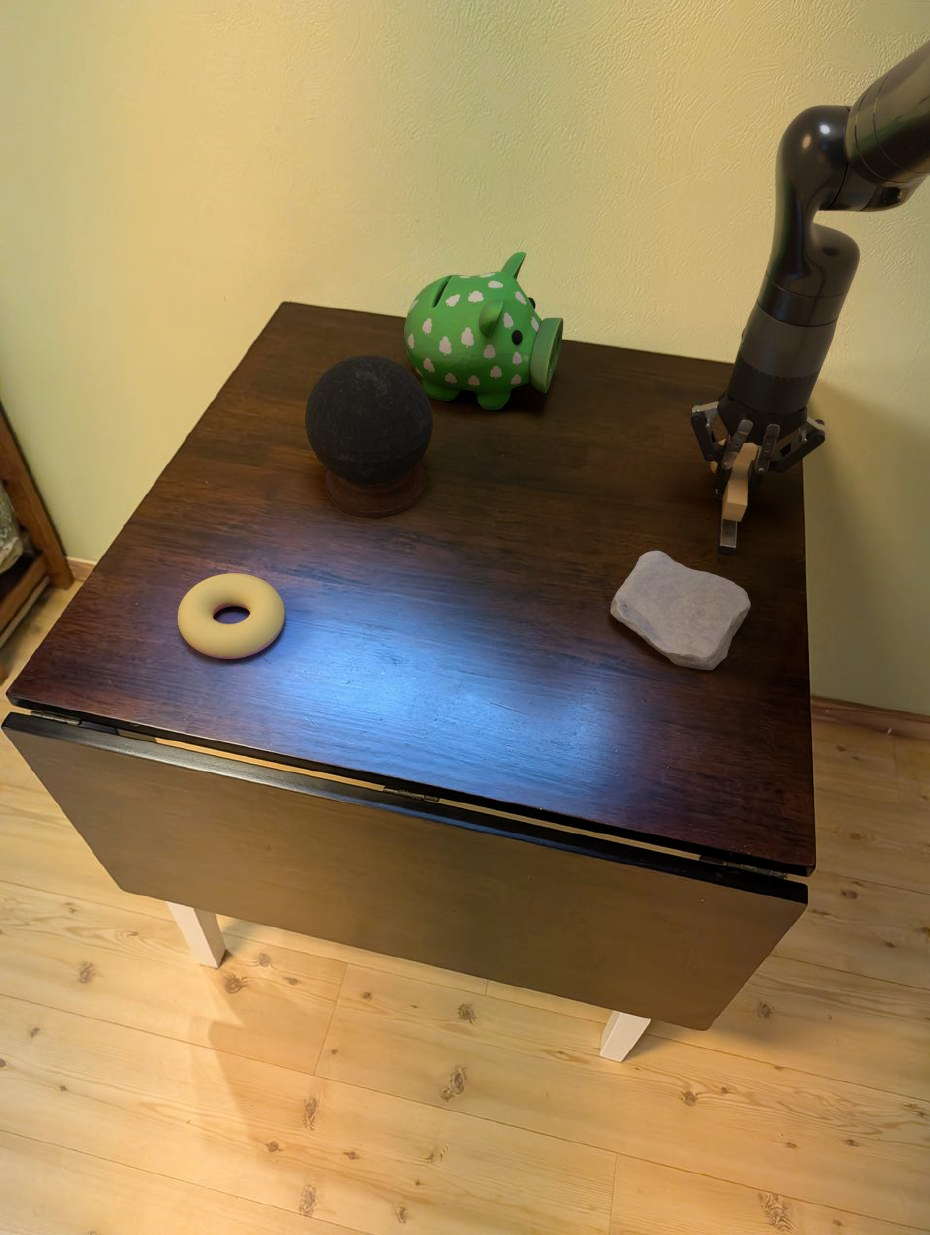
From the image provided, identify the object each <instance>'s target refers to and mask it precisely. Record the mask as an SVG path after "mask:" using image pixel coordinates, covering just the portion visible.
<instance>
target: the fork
mask: <svg viewBox="0 0 930 1235" xmlns="http://www.w3.org/2000/svg"><path fill="white" fill-rule="evenodd" d="M713 490H714V491H713V501H717V502H720V509H719V523H718V524H719V526H718V540H717V553H718V554H723V555H729V556H734V554H735V551H736V549H737V530H738V521H733V520H727V519H722V505H723V495H719V494H717V489H714V488H713Z"/></svg>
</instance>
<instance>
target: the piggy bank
mask: <svg viewBox="0 0 930 1235" xmlns="http://www.w3.org/2000/svg"><path fill="white" fill-rule="evenodd" d="M526 256H527V252H525V251H518V252H515V253H512V254H511V256H510V257H509V258H508V259H507V261H506V262H504V264H503V266H502V268H501V270H500V271H499V270H498V271H492V272H485V273H481V274H476V275H462V274H449V275H446V276H443V277H440V278H438V279H436V280H434V281H432V282H430V283H429V284H427V285H426V286H425V287H424V288H422V290H421V291H420V292H419V293H418V294H417V295H416V296H415V298H414V300H413V301H412V303H411V304H410V307H409V309H408V312H407V315H406V319H405V323H404V329H403V330H404V332H403V334H404V335H403V336H404V346H405V351H406V354H407V356H408V359H409V361H410V364H411V365H412V368H413V369H414V371H415V372H416V374H418V376H419V378H420V380H421V383H422V387H423V388H424V389H425V392H426V394H427V397H428V398H431V399H434V400H436V401H442V402H450V401H453V400H455V398H457V397H458V396H459V394H461V391H463V390H464V391H468V392H473V393H475V395H476V401H477V403H478V404H479V406H480V408H482V409H484V410H487V411H488V410H490V411H497V410H500V409H502V408H503V407H504V406H505V405H506V404H507V403H508V402H509V400H510V397H511V394H512V390H513V389H515V388H517V387H521V386H525V385H527V384H530V385H531V387H533V388H534V389H535V390H537V391H539V392H540V393H542V394H547V392H548V391H549V389H550V386H551V383H552V380H553V376H554V374H555V372H556V368H557V366H558V361H559V357H560V353H561V350H562V349H561V348H562V343H563V333H564V318H563V317H544V318H543V319H542V318H541V317H540V316H539V315H538V313H537V312H536V301H535V299H534V298H533V297H529V296H527V294H526V293H525V291H524V289H523V288H522V286H521V285H520V284H519V282H518V277H519V273H520V272H521V268H522V266H523V264H524V261H525V258H526Z"/></svg>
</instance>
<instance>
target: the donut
mask: <svg viewBox="0 0 930 1235" xmlns="http://www.w3.org/2000/svg"><path fill="white" fill-rule="evenodd" d="M230 607H239V608H243V609H245V610H247V611H248V612H249V615H248V617H246V618H245V619H244V620H241V621H239V622H236V623H222V622H220V621H218V620H216V619H215V618H214V616H215V614H216V613H217V612H219V611H220V610H223V609H226V608H230ZM285 617H286V610H285V604H284V602H283V599H282V596H281V595H280V594H279V592H278V591H277V590H276V589H275V587H274V586H272V585H271V584H270V583H269V582H267V581H265V580H264V579H262V578H260V577H257V576H256V575H255V576H254V575H251V574H248V573H247V574H246V573H238V572H233V573H232V572H230V573H220V574H216V575H213V576H211V577H208V578H206V579H203V580H202V581H200V582H198V583H197V584H195V585H194V586H193V587H192V588H190V589H189V591H188V592H186V594H185V595H184V596H183V598H182V600H181V602H180V604H179V606H178V610H177V625H178V629H179V631H180V634H181V636H182V637H183V639H184V640H185V641H186V643H187V644H188V645H189V646H191V648H193V649H195V650H196V651H197V652H199V653H201V654H202V655H206V656H207V657H208V656H209V657H212V658H216V659H223V660H229V659H230V660H231V659H232V660H234V659H240V658H241V659H242V658H246V657H250V656H253V655H255V654H258V653H259V652H261V651H262V650H265V649H266V648H267V647H268V646H269V645H271V644H272V643H273V642H274V641H275V640H276V639H277V637H278V636H279V635H280V634H281V631H282V629H283V627H284V623H285V619H286V618H285Z"/></svg>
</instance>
